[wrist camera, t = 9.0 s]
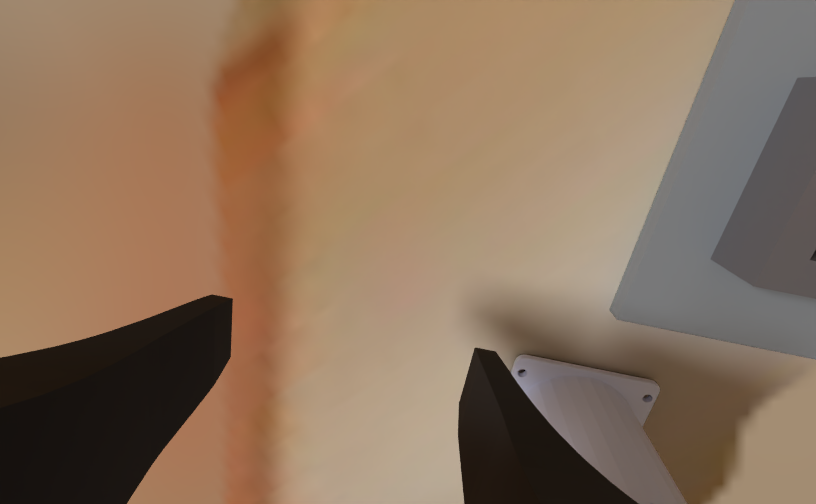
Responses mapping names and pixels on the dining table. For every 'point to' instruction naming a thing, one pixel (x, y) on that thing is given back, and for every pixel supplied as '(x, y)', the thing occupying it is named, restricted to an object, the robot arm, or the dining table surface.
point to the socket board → (739, 195)
